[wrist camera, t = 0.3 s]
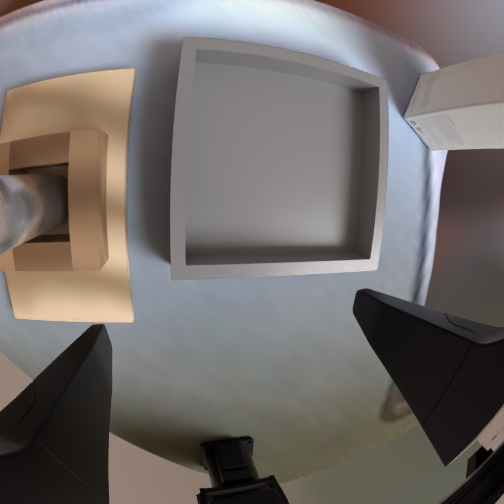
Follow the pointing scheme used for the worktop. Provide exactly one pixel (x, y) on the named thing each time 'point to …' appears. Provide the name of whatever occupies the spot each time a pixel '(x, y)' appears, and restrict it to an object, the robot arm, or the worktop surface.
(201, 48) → the tray
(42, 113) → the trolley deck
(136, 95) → the worktop surface
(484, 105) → the skincare box
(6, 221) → the pin
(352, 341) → the worktop surface
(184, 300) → the worktop surface
